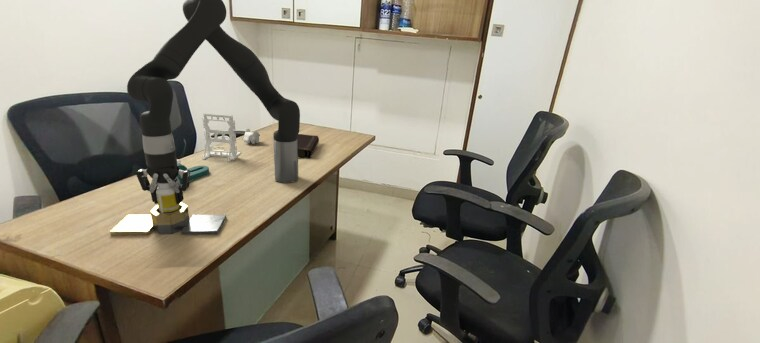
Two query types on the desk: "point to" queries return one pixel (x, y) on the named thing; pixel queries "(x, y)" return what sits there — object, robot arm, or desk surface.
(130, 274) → the desk surface
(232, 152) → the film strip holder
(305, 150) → the diary
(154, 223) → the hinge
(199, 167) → the bracket
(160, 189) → the supplement bottle
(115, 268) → the desk surface
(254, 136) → the elephant figurine
